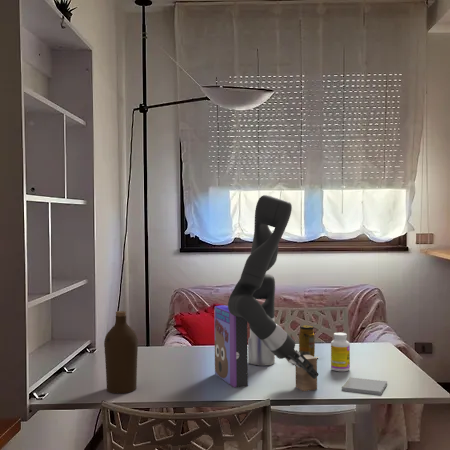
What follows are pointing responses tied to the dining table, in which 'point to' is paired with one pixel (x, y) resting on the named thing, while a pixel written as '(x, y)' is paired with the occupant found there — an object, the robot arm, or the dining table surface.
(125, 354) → the olive oil
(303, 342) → the condiment
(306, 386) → the walnut block
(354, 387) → the slate tile
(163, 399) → the dining table surface
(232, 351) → the cereal box
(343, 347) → the supplement bottle
